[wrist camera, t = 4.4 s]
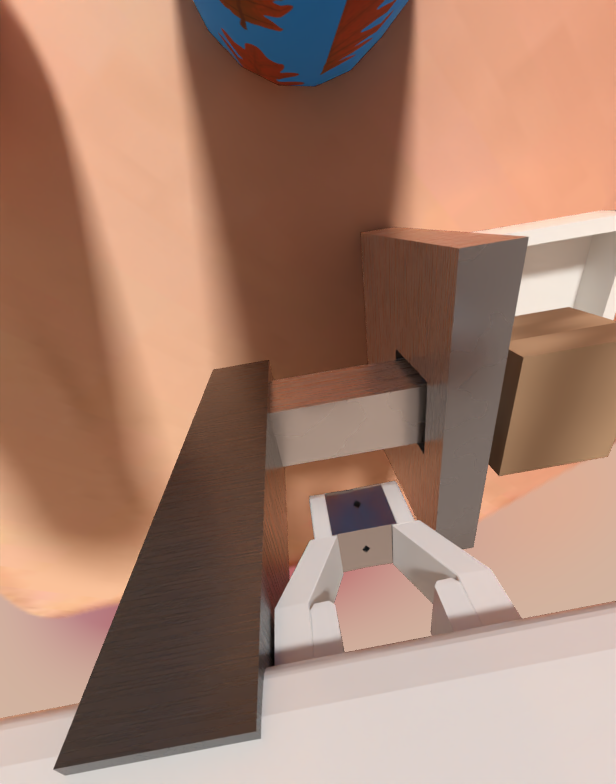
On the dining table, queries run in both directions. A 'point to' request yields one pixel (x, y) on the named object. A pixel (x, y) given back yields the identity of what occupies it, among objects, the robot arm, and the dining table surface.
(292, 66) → the thermos
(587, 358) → the block
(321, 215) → the dining table surface
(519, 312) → the tray
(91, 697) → the shaft
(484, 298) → the bearing wall
